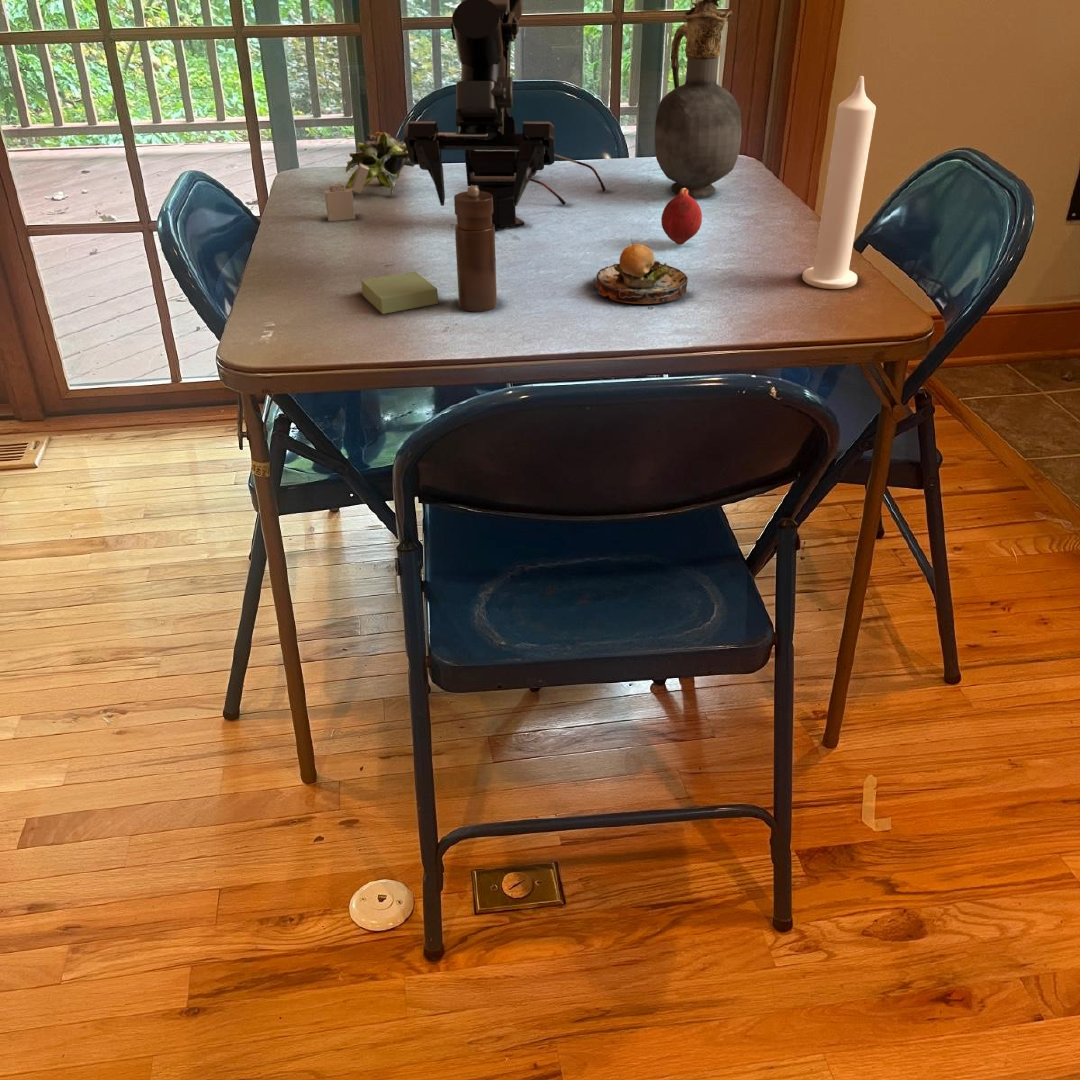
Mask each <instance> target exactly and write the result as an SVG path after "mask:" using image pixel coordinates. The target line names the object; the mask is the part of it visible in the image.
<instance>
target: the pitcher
mask: <svg viewBox="0 0 1080 1080" xmlns="http://www.w3.org/2000/svg"><path fill="white" fill-rule="evenodd" d="M719 2H721V0H698V2H691V5H692V6H694V7H690V9H689V10H688V11H685V12H684V13H683V16H682V18H683V19H685V20H686V23H683V24H681V25H679V26H678V28H676V30H675V33H674V35H673V39H672V42H671V45H670V47H671V49H670V62H671V63H670V64H671V65H670V67H671V71H672V81H673V86H674V88H673V89H672V90H670V91H669V92H667V94H666V95H664V96H663V97H662V98H661V100H660V102H659V104H658V108H657V112H656V117H655V125H654V149H655V158H656V162H657V163H658V165H659V167H660V170H661V171H662V173H663V174H664V175H665V177H666V178H667V179H668V180H670V181H672V182H673V183H672V184H671V186H670V192H671V193H672V194H674V195H676V196H677V195H678V194H679V192H680V191H681V189H682V188H686V189H687V190H689V191H688V195H689V196H690V197H692V198H693V199H704V198H710V197H712V196H714V195H715V191H716V187H715V186H714V185H713V184H714V183H716V182H717V181H719V180H721V179H723V178H724V177H726V176H728V174H729V173H730V172H733V170H734V168H735V166H736V164H737V161H738V159H739V154H740V149H741V144H742V132H743V131H742V116H741V115H742V114H741V109H740V106H739V104H738V102H737V100H736V99H735V97H734V96H733V94H732V93H731V92H730V91H729V90H728V89H726V88H725V87H722V86H721V85H719V84H717V83H718V82H717V81H718V70H719V69H718V68H719V59H720V55H721V53H722V52H721V51H722V36H723V30H724V27H725V24H726V22H727V21H728V19H729V18H731V17H732V15H733V10H729V11H722V10H718V8H719V7H720V4H719ZM684 37H685V38H686V40H685V47H684V52H685V57H686V60H687V61H686V71H685V72H686V73H685V82H684V83H683V84H682V85H680V74H679V73H680V62H679V57H680V56H679V55H680V48H681V42H682V39H683V38H684Z"/></svg>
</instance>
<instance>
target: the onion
mask: <svg viewBox="0 0 1080 1080" xmlns="http://www.w3.org/2000/svg"><path fill="white" fill-rule="evenodd" d="M688 191H689V190H687V189H686V188H682V189H681V191H680V192H679V194H678V195H676V196H674V197H673V198H671V199H670V200H669V201H668V203H667V204H666V205H665V207H664V208H663V210H662V214H661V217H660V218H661V219H660V220H661V227H662V230H663V232H664V233H665V235H666V236H667V237H668V238H669V239H670V240H671V241H673V242H674V244H676V245H679V246H682V245H685V243H686V242H688V241H689V240H691V239H692V238H693V237H694V236H696V235H697V234H698V232H699V230H700V229H701V226H702V223H703V222H702V221H703V212H702V209H701V207H700V205H699V203H698V202H697V200H695V198H692V197H690V196H689V195H688Z"/></svg>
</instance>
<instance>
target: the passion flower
mask: <svg viewBox="0 0 1080 1080" xmlns="http://www.w3.org/2000/svg"><path fill="white" fill-rule="evenodd" d="M366 138H367V139H368V140H364V141H363V142H364V143H362V142H358V143H357V148H358V149H359V151H356V152H353V153H352V152H350V153H348V155H349V157H350V158H351V160H348V161H346V164H347V165H346V167H345V173H348V172H349V171H350V170H351V169H354V167H356V166H359V164H360V163H361V164H363V165H366V166H368V167H369V171H368V174H367V177H366V180H365V182H364V185H363V187H365V186H366V185H367V184H368V183H370V182H371V181H373V180H374V179H376V178H377V180H378V182H379V184H380V185H381V186H384V187H386V188H388V189H391V190H390V196H389V197H390V198H392V196H393V193H394V190H395V186H396V183H397V181H398V180H399V178H400V174H401V171H402V169H403V168H404V166H406V167H415V166H416V165H415V164H413V163H411V162H410V159H409V156H408V152H407V148H406V145H405V141H403V140H401V141H400V138H398V137H397V138H396V139H395V137H394V136H391V135H390V133H387V132H385V131H384V132H380V131H376V132H375V135H373V134H366ZM356 172H357V169H355V171H353V173H352V174H351V176H350V177H349V179H348V181H347V183H346V186H345V189H351V186H352V184H353V181H354V178H355V175H356Z"/></svg>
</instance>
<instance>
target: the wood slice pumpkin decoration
mask: <svg viewBox="0 0 1080 1080" xmlns="http://www.w3.org/2000/svg"><path fill="white" fill-rule="evenodd" d="M630 241H631V244H630V245H628V246H626V248H624V249H622V252H621V254H620V256H619V263H613V264H612V265H610V266H605V267H603V268H600V269H599V271H598V272H597V273H596V277H595V278H596V281H595V284H594V287H595V288H596V289H598V294H599V295H601V296H602V297H607V296H608V297H609V299H610V300H612V301H615V302H619V303H620V302H621V303H627V304H638V305H639V304H642V305H646V304H647V305H649V304H651V305H652V304H661V303H662V304H663V303H667V302H671V301H675V300H678V299H680V298H682V297H683V295H686V294H687V288H688V281H689V279H688V276H687V274H686V273H684V272H683V271H682V270H681V269H679V268H677V267H673V266H670V265H668V264H667V263H666V262H664V263H661V262H660V261H657V260H655V254H654V252H653V250H652V249H651V248H649V246H646V245H644V244H641V243H633V239H632V238H630Z"/></svg>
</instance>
